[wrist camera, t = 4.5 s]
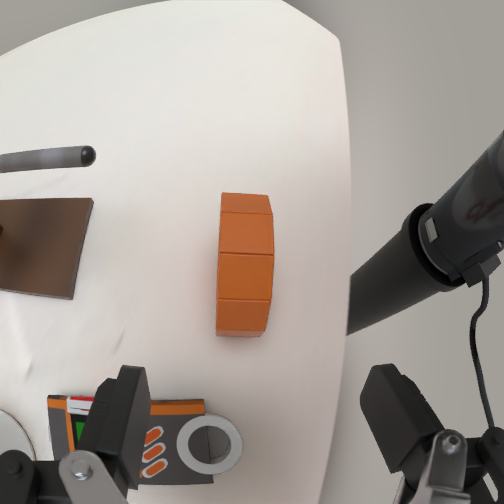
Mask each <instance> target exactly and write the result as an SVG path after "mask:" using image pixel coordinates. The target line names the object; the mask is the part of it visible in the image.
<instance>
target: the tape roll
mask: <svg viewBox="0 0 504 504" xmlns="http://www.w3.org/2000/svg"><path fill="white" fill-rule="evenodd" d="M272 215H273V214H272V210H271V206H270V202H269V198H268V196H267V195H257V194H241V193H222V196H221V210H220V227H219V247H218V270H217V298H216V336H234V337H260V335H261V334H262V333H263V332H264V331H265V329H266V324H267V319H268V315H269V310H270V305H271V298H272V284H273V269H274V231H273V216H272Z"/></svg>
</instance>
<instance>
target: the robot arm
mask: <svg viewBox="0 0 504 504" xmlns="http://www.w3.org/2000/svg"><path fill="white" fill-rule="evenodd" d="M417 237H418V242H419V245H420V248H421V250H422V252H423V254H424V256H425V258H426V259H427V260H428V262H429V263H430V264H431V265H432V267H433V268H435V269H436V270H437V271H438V272H440V273H441V274H443V275H445V277H446V278H447V280H448V282H452V281H454V280H455V279H457V278H459V277H460V276H462V275H463V277H464V279H465V281H466V283H467V285H468V287H471V286H473V285H475V284H477V283H479V282H481V281H482V283H483V296H482V302H481V305H480V307H479V308H478V310H477V311H476V312H475V313H474V315H473V316H472V319H471V322H470V331H469V340H470V349H471V354H472V359H473V362H474V367H475V371H476V375H477V381H478V386H479V391H480V396H481V400H482V404H483V408H484V411H485V415H486V419H487V422H488V427H489V429H487V430H486V432H485V433H484V434H483V436H482V437H478V438H464V436H463V435H462V434H460V433H459V432H457V431H455V430H450V429H446V430H445V428H444V427H443V425H442V424H441V422H440V421H439V419H438V418H437V416H436V414H435V413H434V411H433V410H432V409H431V407H430V405H429V404H428V402H426V399H425V398H424V396H423V395H422V394H421V393H420V390H419V389H418V387H417V386H416V384H415V383H414V382H413V381H412V380H410V379H409V378H408V377H407V376H405V375H401V374H400V372H399V371H398V369H397V368H396V366H395V365H394V364H392V363H391V364H383V365H376V366H373V367H372V368H371V370H370V373H369V375H368V378H367V380H366V382H365V385H364V388H363V390H362V392H361V395H360V405H361V409H362V411H363V414H364V415H365V418H366V420H367V422H368V424H369V427H370V429H371V431H372V433H373V435H374V437H375V440H376V442H377V444H378V446H379V448H380V451H381V453H382V455H383V457H384V459H385V462H386V464H387V466H388V468H389V470H390V473H391V474H392V473H395V472H399V471H402V472H403V473H404V475H403V476H402V478H401V480H400V484H399V486H398V489H397V492H396V495H395V498H394V501H393V504H504V430H503V429H501V428H499V427H495V426H494V421H493V416H492V413H491V409H490V405H489V402H488V398H487V394H486V389H485V383H484V378H483V373H482V368H481V364H480V360H479V357H478V352H477V347H476V338H475V332H476V322H477V319H478V318H479V317H480V316H481V314H482V313H483V312H484V311H485V309H486V307H487V304H488V297H489V275H490V274H491V273H492V272H493V271H494V270H495V269H496V268H497V267H498V266H499V265H500V264H501V262H500V260H499V258H498V256H497V254H498V253H499V252H501V251H502V250H503V249H504V130H503V132H502V133H501V134H500V135H499V136H498V137H497V138H496V140H495V141H494V142H493V143H492V144H491V145H490V146H489V148H488V149H487V150H486V151H485V152H484V153H483V154H482V155H481V156H480V158H478V160H477V161H476V162H475V163H474V164H473V165H472V166H471V167H470V168H469V169H468V170H467V171H466V172H465V173H464V175H463V176H462V177H461V178H460V179H459V180H458V181H457V182H456V183H455V184H454V185H453V186H452V187H451V188H450V189H449V190H448V191H447V192H446V193H445V194H444V195H443V196H442V197H441V198H440V199H439V200H438V201H437V202H436V203H435V204H434V205H433V206H431V207H430V208H429V210H427V211H426V212H425V213H424V214H423V215H422V216H421V217H420V219H419V221H418V224H417ZM150 411H151V398H150V392H149V387H148V382H147V376H146V371H145V368H144V367H137V366H127V365H123V366H122V367H121V369H120V372H119V375H118V377H117V379H112V378H107V379H106V380H105V381H104V382H103V383H102V384H101V385H100V386H99V387H98V389H97V392H96V394H95V397H94V401H93V402H92V405H91V407H90V411H89V413H88V416H87V418H86V421H85V424H84V427H83V430H82V433H81V435H80V438H79V441H78V444H77V447H76V449H75V450H74V451H72V452H70V453H68V454H66V455H65V456H64V457H63V458H62V459H61V460H56V461H32V460H31V459H30V457H29V456H28V455H27V454H26V453H24V452H22V451H20V450H8V451H5V452H4V453H2V454H1V455H0V504H128V502H127V501H126V498H127V492H128V488H129V489H135V490H138V484H139V477H140V470H141V464H142V457H143V451H144V445H145V440H146V434H147V428H148V423H149V417H150ZM487 473H489V475H490V477H491V478H492V480H493V482H494V484H495V486H496V488H497V490H498V500H497V501H496V502H495V501H494V500H493V498H492V496H491V494H490V492H489V489H488V487H487V486H486V484H485V482H484V480H483V477H484V476H485V475H486V474H487Z"/></svg>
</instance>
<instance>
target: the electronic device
mask: <svg viewBox="0 0 504 504" xmlns="http://www.w3.org/2000/svg"><path fill="white" fill-rule="evenodd" d="M94 397H95V396H81V395H80V396H62V395H48V397H47V403H48V416H49V427H48V432H49V439H50V442H51V443H52V449H53V455H54V461H56V460H61V459H62V458H63V457H64V456H65V455H66V454H68V453H70V452H72V451H74V450H75V449H76V447H77V444H78V441H79V438H80V435H81V433H82V430H83V427H84V424H85V421H86V418H87V416H88V413H89V411H90V407H91V405H92V402H93V401H94ZM206 426H215V427H218V428H220V429H222V430H223V431H225V432H226V433H227V435H228V438H229V445H228V448H227V450H226V451H225V453H223V454H222V455H221V456H219V457H217V458H213V459H210V453H209V445H208V437H207V428H206ZM242 449H243V443H242V438H241V436H240V434H239V432H238V430H237V429H236V428H235V426H234V425H233V424H232V423H231V422H230V421H228V420H227V419H225V418H224V417H222V416H219V415H216V414H209V413H205V410H204V401H203V399H194V400H151V411H150V417H149V423H148V428H147V434H146V440H145V445H144V451H143V457H142V464H141V470H140V477H139V484H148V485H191V484H210V483H214V481H213V474H219V473H222V472H225V471H227V470H229V469H231V468H232V467H233V466H234V465H235V464H236V463H237V462H238V460H239V459H240V456H241V454H242Z"/></svg>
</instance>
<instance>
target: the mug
mask: <svg viewBox="0 0 504 504" xmlns="http://www.w3.org/2000/svg"><path fill="white" fill-rule="evenodd" d="M8 450H20V451H22V452H24V453H26V454H27V455H28V456H29V457H30V459H31V460H32V461H35V454H34V451H33V448H32V445H31V442H30V440H29V438H28V436H27V434H26V433H25V431H24V430H23V428H22V427H21V426H20V424H19V423H18V422H17V421H16V420H15V419H14V418H13V417H12V416H10V415H9V414H7V413H6V412H4V411H2V410H0V455H1V454H2V453H4V452H5V451H8Z"/></svg>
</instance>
